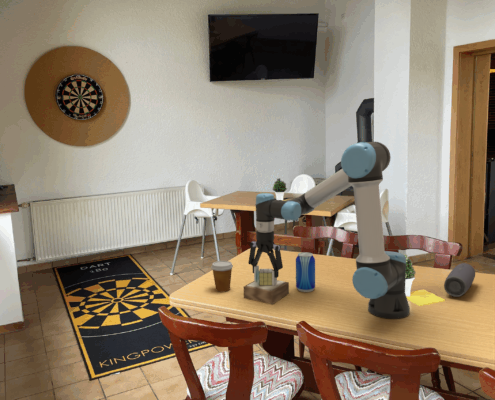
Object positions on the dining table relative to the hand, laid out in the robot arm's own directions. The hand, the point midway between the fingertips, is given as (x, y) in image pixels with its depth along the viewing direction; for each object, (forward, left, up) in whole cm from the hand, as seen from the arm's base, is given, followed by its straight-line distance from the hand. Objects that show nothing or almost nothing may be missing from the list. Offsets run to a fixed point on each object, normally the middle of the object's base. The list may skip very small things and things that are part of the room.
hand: (265, 282), depth 189 cm
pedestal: (0, 0, -6) cm, 6 cm away
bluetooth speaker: (-69, -45, -6) cm, 83 cm away
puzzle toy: (0, 0, 0) cm, 1 cm away
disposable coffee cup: (+21, +3, -6) cm, 22 cm away
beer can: (-11, -15, -6) cm, 20 cm away
